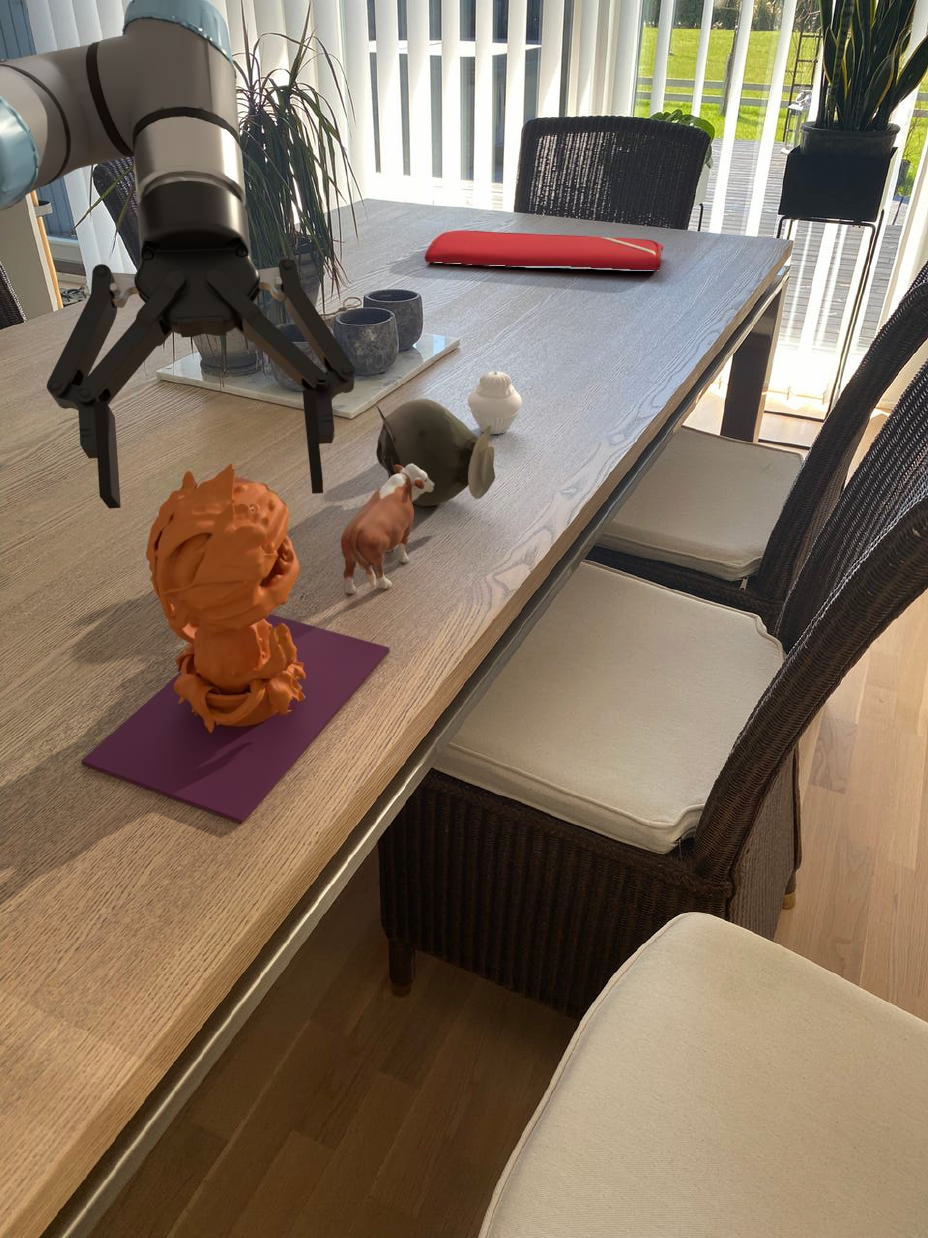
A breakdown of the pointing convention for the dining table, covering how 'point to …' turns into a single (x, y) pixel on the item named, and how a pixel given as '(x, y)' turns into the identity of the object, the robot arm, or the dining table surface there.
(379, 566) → the bull figurine
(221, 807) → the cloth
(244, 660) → the orange character figurine
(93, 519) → the dining table surface
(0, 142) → the robot arm
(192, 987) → the dining table surface
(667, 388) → the dining table surface
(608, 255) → the dish drying mat
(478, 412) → the muffin
